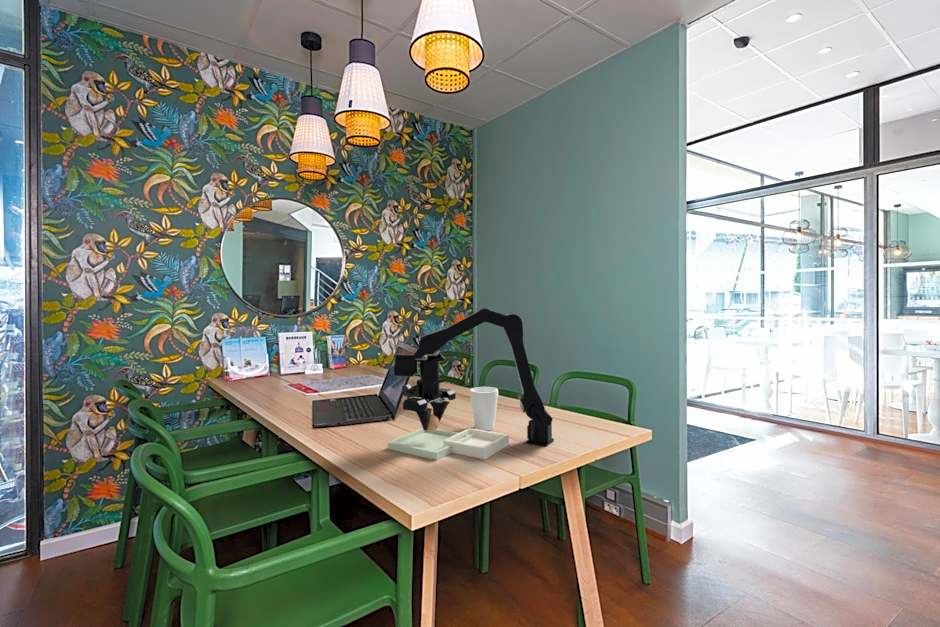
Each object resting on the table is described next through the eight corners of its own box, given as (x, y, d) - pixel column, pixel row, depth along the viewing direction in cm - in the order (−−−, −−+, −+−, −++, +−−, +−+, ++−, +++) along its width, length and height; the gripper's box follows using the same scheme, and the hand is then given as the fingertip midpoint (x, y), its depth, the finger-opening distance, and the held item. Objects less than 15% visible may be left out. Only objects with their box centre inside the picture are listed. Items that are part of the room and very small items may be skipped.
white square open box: (508, 444, 134) (508, 434, 134) (484, 459, 122) (484, 448, 122) (469, 437, 142) (469, 427, 142) (443, 450, 130) (443, 440, 130)
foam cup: (465, 430, 150) (465, 391, 149) (478, 422, 158) (477, 386, 157) (491, 433, 145) (491, 393, 145) (503, 426, 153) (502, 388, 153)
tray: (472, 441, 138) (472, 435, 137) (436, 460, 122) (436, 452, 122) (425, 432, 147) (425, 426, 147) (387, 448, 132) (387, 442, 132)
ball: (442, 430, 135) (442, 413, 135) (432, 434, 131) (432, 417, 131) (429, 427, 138) (429, 411, 138) (419, 432, 134) (418, 415, 134)
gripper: (427, 369, 146) (428, 417, 147) (387, 379, 131) (389, 432, 131) (456, 372, 140) (457, 421, 141) (417, 382, 124) (419, 438, 125)
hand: (430, 427), depth 135 cm, fingers closed on ball, 5 cm apart
